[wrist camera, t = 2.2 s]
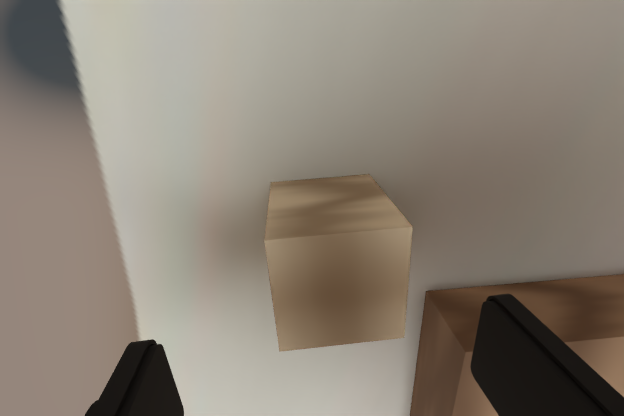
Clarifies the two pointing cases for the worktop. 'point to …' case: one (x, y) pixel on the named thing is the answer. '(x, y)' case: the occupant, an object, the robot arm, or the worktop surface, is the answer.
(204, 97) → the worktop surface
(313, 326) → the maple block
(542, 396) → the robot arm
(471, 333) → the brown wooden flat block
